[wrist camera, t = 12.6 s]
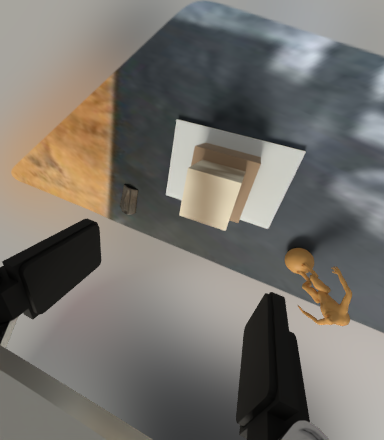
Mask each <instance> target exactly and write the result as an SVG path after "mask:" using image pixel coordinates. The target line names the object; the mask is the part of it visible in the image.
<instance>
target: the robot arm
mask: <svg viewBox="0 0 384 440" xmlns="http://www.w3.org/2000/svg"><path fill="white" fill-rule="evenodd" d="M100 263H101V249H100V231H99V226H98V224H97V222H94V221H92V220H89V219H84V220H82V221H80V222H78V223H76V224H74V225H72V226H70V227H68V228H66V229H65V230H62V231H60V232H59V233H57V234H55V235H53V236H51V237H49V238H47V239H45V240H43V241H41V242H39V243H37V244H35V245H34V246H32V247H30V248H28V249H26V250H24V251H22V252H20V253H18V254H16V255H14V256H12V257H10V258H9V259H6V260H4V261H3V265H4V266H2V267H0V440H152V439H151V438H149V437H148V436H146V435H145V434H143V433H141V432H140V431H138V430H137V429H135V428H133V427H132V426H130V425H129V424H127V423H125V422H124V421H122V420H121V419H119V418H117V417H116V416H114V415H113V414H111V413H109V412H108V411H106V410H105V409H103V408H101V407H100V406H98V405H96V404H95V403H93V402H92V401H90V400H88V399H87V398H85V397H84V396H82V395H80V394H79V393H77V392H76V391H74V390H72V389H71V388H69V387H67V386H66V385H64V384H62V383H61V382H59V381H58V380H56V379H55V378H53V377H51V376H50V375H48V374H46V373H45V372H43V371H42V370H40V369H38V368H37V367H35V366H33V365H32V364H30V363H29V362H27V361H25V360H23V359H22V358H20V357H18V356H17V355H15V354H14V353H12V352H11V351H9V350H7V349H6V346H7V344H8V342H9V339H10V336H11V334H12V331H13V329H14V326H15V324H16V321H17V318H18V316H19V315H21V314H22V313H24V315H26V316H28V317H29V318H31V319H34V318H35V317H37V316H38V315H39V314H43V313H44V312H46V311H47V310H48V309H49V308H50V307H51V306H53V305H54V304H55V303H56V302H57V301H59V300H60V299H61V298H62V297H63V296H64V295H66V293H68V292H69V291H70V290H71V289H73V288H74V287H75V286H76V285H77V284H79V283H80V282H81V281H82V280H83V279H84V278H86V277H87V276H88V275H89V274H90V273H91V272H93V271H94V270H95V269H96V268H97V267H98V266H99V265H100ZM236 421H237V423H238V424H240V435H241V436H243V437H244V438H246V439H247V440H329V439H328V438H327V436H326V435H325V434H324V433H323V432H322V431H321V430H320V429H319V428H318V427H316V426H315V425H314V424H312V423H310V420H309V414H308V408H307V401H306V395H305V389H304V383H303V376H302V370H301V364H300V357H299V351H298V345H297V340H296V336H295V335H294V333H292V332H290V331H289V327H288V319H287V312H286V304H285V298H284V297H282V296H280V295H278V294H275V293H273V292H270V294H265V295H264V296H263V298H262V300H261V301H260V303H259V304H258V306H257V308H256V309H255V311H254V313H253V314H252V316H251V318H250V319H249V321H248V323H247V324H246V326H245V330H244V337H243V348H242V359H241V370H240V380H239V391H238V402H237V413H236Z"/></svg>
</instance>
